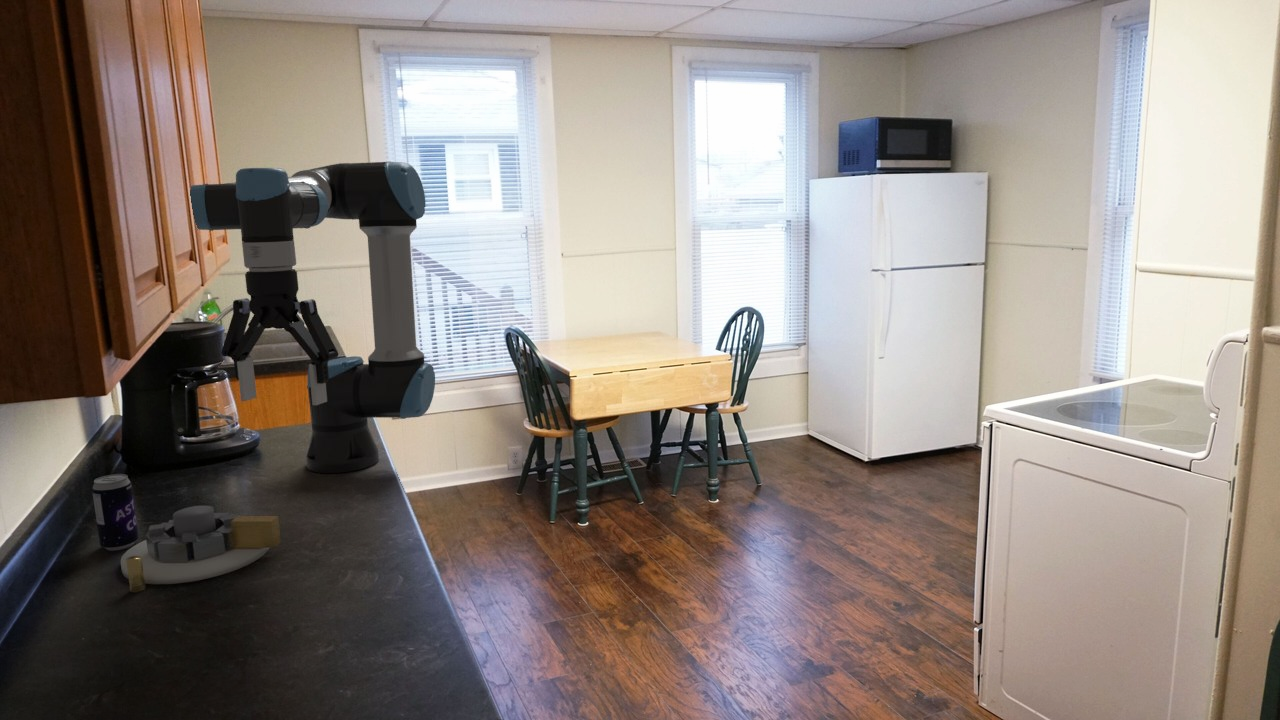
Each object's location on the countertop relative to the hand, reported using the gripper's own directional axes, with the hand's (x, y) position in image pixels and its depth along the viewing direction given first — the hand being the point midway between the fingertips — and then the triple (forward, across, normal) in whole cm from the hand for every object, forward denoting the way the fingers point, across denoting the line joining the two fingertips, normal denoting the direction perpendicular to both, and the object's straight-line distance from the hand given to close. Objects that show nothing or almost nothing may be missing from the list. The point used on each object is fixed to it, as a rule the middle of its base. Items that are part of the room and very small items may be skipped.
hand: (283, 401), depth 140 cm
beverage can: (+26, -32, -6) cm, 41 cm away
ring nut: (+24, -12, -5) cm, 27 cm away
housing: (+26, -15, -6) cm, 30 cm away
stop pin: (+26, -14, -18) cm, 35 cm away
